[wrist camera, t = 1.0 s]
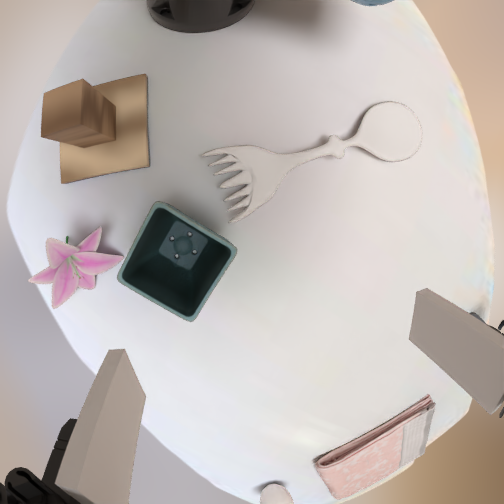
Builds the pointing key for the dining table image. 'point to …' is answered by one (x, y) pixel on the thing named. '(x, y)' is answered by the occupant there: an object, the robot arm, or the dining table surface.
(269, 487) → the white tall oval piece
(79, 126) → the lid
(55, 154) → the dining table surface
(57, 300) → the lily
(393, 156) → the white spork
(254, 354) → the dining table surface
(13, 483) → the robot arm
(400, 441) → the towel
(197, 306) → the flower pot
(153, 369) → the dining table surface
